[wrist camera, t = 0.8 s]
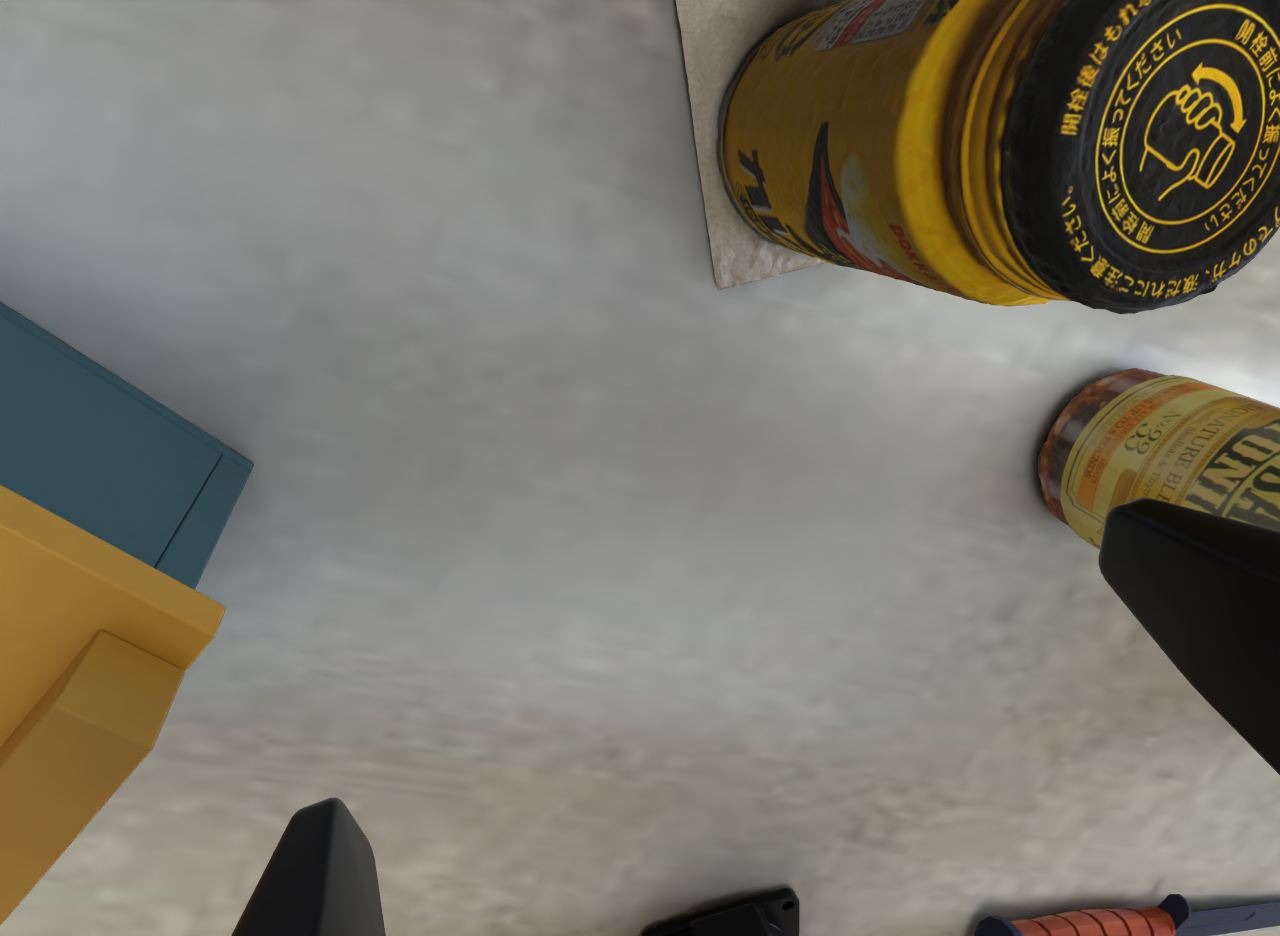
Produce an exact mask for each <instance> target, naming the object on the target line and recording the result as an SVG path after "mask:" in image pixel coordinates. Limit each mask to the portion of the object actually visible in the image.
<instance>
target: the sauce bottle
mask: <svg viewBox="0 0 1280 936" xmlns="http://www.w3.org/2000/svg"><path fill="white" fill-rule="evenodd" d="M1037 471H1038V474H1039V478H1040V480H1041V482H1042V491H1043V494H1044V497H1045V501H1046V504H1047V505H1048V507H1049V508H1050V510H1051V512H1052V513H1053V514H1054V515H1055V516H1057V517H1058V518H1059V519H1060V520H1061V521H1062V522H1064V523H1066V524H1067V525H1069V526H1070V527H1071V528H1072V529H1073V530H1074V531H1075V532H1076V534H1077V535H1079V536H1080V537H1081V538H1082V539H1084V540H1085V541H1087V542H1088V543H1090V544H1092V545H1093V546H1095V547H1096V548H1098V549H1099V550H1100V548H1101V542H1102V537H1103V531H1104V526H1105V520H1106V517H1107V514H1108V512H1109V511H1110V510H1111V509H1112V508H1114V507H1115V506H1118V505H1121V504H1123V503H1126V502H1129V501H1131V500H1134V499H1137V498H1144V497H1145V498H1152V499H1157V500H1160V501H1164V502H1168V503H1172V504H1176V505H1180V506H1183V507H1187V508H1191V509H1195V510H1199V511H1203V512H1207V513H1210V514H1214V515H1218V516H1222V517H1226V518H1230V519H1233V520H1237V521H1241V522H1245V523H1249V524H1253V525H1257V526H1260V527H1264V528H1268V529H1272V530H1276V531H1280V408H1278V407H1275V406H1272V405H1270V404H1267V403H1264V402H1261V401H1258V400H1255V399H1252V398H1249V397H1246V396H1243V395H1240V394H1237V393H1234V392H1231V391H1228V390H1225V389H1222V388H1219V387H1216V386H1213V385H1210V384H1207V383H1204V382H1201V381H1198V380H1195V379H1192V378H1188V377H1182V376H1175V375H1171V376H1168V375H1163V374H1159V373H1156V372H1151V371H1147V370H1146V371H1145V370H1140V369H1137V368H1135V369H1128V370H1124V371H1121V372H1118V373H1115V374H1112V375H1109V376H1106V377H1104V378H1102V379H1099V380H1097V381H1095V382H1094V383H1093V384H1091V385H1088V386H1086V387H1084V388H1083V389H1082V391H1081V392H1080V394H1079V395H1077V396H1074V397H1073V398H1072V399H1071V400H1070V401H1069V403H1068V405H1067V406H1066V407H1065V408H1064V409H1063V411H1062V412H1061V414H1060V415H1059V417H1058V419H1057V421H1056V422H1055V423H1054V425H1053V427H1052V428H1051V431H1050V433H1049V435H1048V440H1047V441H1046V443H1045V444H1044V445H1043V446H1042V449H1041V453H1040V455H1039V458H1038V470H1037Z"/></svg>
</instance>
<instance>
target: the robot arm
mask: <svg viewBox="0 0 1280 936" xmlns="http://www.w3.org/2000/svg"><path fill="white" fill-rule="evenodd" d="M1099 567H1100V570H1101V573H1102V575H1103V577H1104V579H1105V580H1106V581H1107V583H1108V584H1109V585H1110V587H1111V588H1112V589H1113V590H1114V591H1115V593H1116V594H1117V595H1118V596H1119V598H1120V599H1121V600H1122V601H1123V602H1124V604H1125V605H1126V606H1127V607H1128V609H1129V610H1130V611H1131V612H1132V613H1133V615H1134V616H1135V617H1136V618H1137V620H1138V621H1139V622H1140V623H1141V624H1142V626H1143V627H1144V628H1145V629H1146V631H1147V632H1148V633H1149V634H1150V636H1151V637H1152V638H1153V639H1154V640H1155V642H1156V643H1157V644H1158V645H1159V647H1160V648H1161V649H1162V650H1163V651H1164V653H1165V654H1166V655H1167V656H1168V658H1169V659H1170V660H1171V661H1172V662H1173V664H1174V665H1175V666H1176V667H1177V669H1178V670H1179V671H1180V672H1181V673H1182V674H1183V675H1184V677H1185V678H1186V679H1187V680H1188V681H1189V682H1190V684H1191V685H1192V686H1193V687H1194V688H1195V689H1196V690H1197V691H1198V692H1199V693H1200V694H1201V695H1202V696H1203V697H1204V699H1205V700H1206V701H1207V702H1208V703H1209V704H1210V705H1211V706H1212V707H1213V708H1214V709H1215V710H1216V711H1217V712H1218V713H1219V714H1220V715H1221V716H1222V717H1223V718H1224V719H1225V720H1226V721H1227V722H1228V723H1229V724H1230V725H1231V726H1232V727H1233V728H1234V729H1235V730H1236V731H1237V732H1238V733H1239V734H1240V735H1241V736H1242V737H1243V738H1244V739H1245V740H1246V741H1247V742H1248V743H1249V744H1250V745H1251V746H1252V747H1253V748H1254V749H1255V750H1256V751H1257V752H1258V753H1259V755H1260V756H1261V757H1262V758H1263V759H1264V760H1265V761H1266V762H1267V763H1268V764H1269V765H1270V766H1271V767H1272V768H1273V769H1274V770H1275V771H1276V772H1277V773H1278V774H1279V775H1280V531H1276V530H1272V529H1268V528H1264V527H1260V526H1257V525H1253V524H1249V523H1245V522H1241V521H1237V520H1233V519H1230V518H1226V517H1222V516H1218V515H1214V514H1210V513H1207V512H1203V511H1199V510H1195V509H1191V508H1187V507H1183V506H1180V505H1176V504H1172V503H1168V502H1164V501H1160V500H1157V499H1152V498H1145V497H1144V498H1137V499H1134V500H1131V501H1129V502H1126V503H1123V504H1121V505H1118V506H1115V507H1114V508H1112V509H1111V510H1110V511H1109V512H1108V514H1107V517H1106V520H1105V526H1104V531H1103V537H1102V542H1101V548H1100V553H1099ZM231 936H385V928H384V921H383V914H382V907H381V900H380V893H379V886H378V879H377V871H376V865H375V859H374V855H373V851H372V848H371V846H370V843H369V841H368V839H367V838H366V836H365V835H364V833H363V832H362V830H361V829H360V827H359V825H358V824H357V822H356V821H355V819H354V818H353V816H352V815H351V813H350V812H349V810H348V809H347V807H346V806H345V804H344V803H343V802H342V801H341V800H340V799H338V798H335V797H334V798H329V799H326V800H323V801H321V802H318V803H315V804H313V805H310V806H307V807H304V808H302V809H300V810H298V811H297V812H296V813H295V814H294V816H293V817H292V818H291V820H290V822H289V824H288V826H287V827H286V829H285V831H284V833H283V835H282V837H281V839H280V841H279V843H278V845H277V847H276V849H275V851H274V853H273V855H272V857H271V859H270V861H269V863H268V865H267V867H266V869H265V871H264V873H263V875H262V877H261V878H260V880H259V882H258V884H257V886H256V888H255V890H254V892H253V894H252V896H251V898H250V900H249V902H248V904H247V906H246V908H245V910H244V912H243V914H242V916H241V918H240V920H239V922H238V924H237V926H236V928H235V929H234V931H233V933H232V935H231ZM642 936H799V899H798V897H797V895H796V893H795V891H794V890H793V889H791V888H784V889H780V890H777V891H774V892H770V893H767V894H764V895H760V896H757V897H754V898H750V899H747V900H744V901H740V902H737V903H734V904H730V905H727V906H724V907H720V908H717V909H714V910H710V911H707V912H704V913H700V914H697V915H694V916H690V917H687V918H684V919H680V920H677V921H674V922H670V923H667V924H664V925H660V926H657V927H654V928H651V929H649V930H647V931H646V932H645V933H643V935H642Z"/></svg>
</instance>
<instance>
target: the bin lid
mask: <svg viewBox="0 0 1280 936" xmlns="http://www.w3.org/2000/svg"><path fill="white" fill-rule="evenodd" d="M224 611H225V606H223V605H221V604H219V603H218V602H216V601H214V600H212V599H210V598H208V597H206V596H205V595H203V594H201V593H199V592H197V591H195V590H194V589H192V588H190V587H188V586H186V585H184V584H183V583H181V582H179V581H177V580H175V579H173V578H171V577H170V576H168V575H166V574H164V573H162V572H160V571H159V570H157V569H155V568H153V567H151V566H149V565H147V564H146V563H144V562H142V561H140V560H138V559H136V558H135V557H133V556H131V555H129V554H127V553H125V552H123V551H122V550H120V549H118V548H116V547H114V546H112V545H111V544H109V543H107V542H105V541H103V540H101V539H99V538H98V537H96V536H94V535H92V534H90V533H88V532H87V531H85V530H83V529H81V528H79V527H77V526H75V525H74V524H72V523H70V522H68V521H66V520H64V519H63V518H61V517H59V516H57V515H55V514H53V513H52V512H50V511H48V510H46V509H44V508H42V507H40V506H39V505H37V504H35V503H33V502H31V501H29V500H28V499H26V498H24V497H22V496H20V495H18V494H16V493H15V492H13V491H11V490H9V489H7V488H5V487H4V486H2V485H0V925H1V924H2V923H3V922H4V921H5V920H6V918H7V917H8V916H9V915H10V914H11V913H12V911H13V910H14V909H15V908H16V907H17V906H18V905H19V903H20V902H21V901H22V900H23V899H24V898H25V896H26V895H27V894H28V893H29V892H30V891H31V889H32V888H33V887H34V886H35V885H36V884H37V882H38V881H39V880H40V879H41V878H42V877H43V876H44V874H45V873H46V872H47V871H48V870H49V869H50V867H51V866H52V865H53V864H54V863H55V862H56V860H57V859H58V858H59V857H60V856H61V855H62V853H63V852H64V851H65V850H66V849H67V848H68V846H69V845H70V844H71V843H72V842H73V841H74V840H75V838H76V837H77V836H78V835H79V834H80V833H81V831H82V830H83V829H84V828H85V827H86V826H87V824H88V823H89V822H90V821H91V820H92V819H93V817H94V816H95V815H96V814H97V813H98V812H99V811H100V809H101V808H102V807H103V806H104V805H105V804H106V802H107V801H108V800H109V799H110V798H111V797H112V795H113V794H114V793H115V792H116V791H117V790H118V788H119V787H120V786H121V785H122V784H123V783H124V781H125V780H126V779H127V778H128V777H129V776H130V775H131V773H132V772H133V771H134V770H135V769H136V768H137V766H138V765H139V764H140V763H141V762H142V761H143V759H144V758H145V757H146V756H147V755H148V754H149V752H150V751H151V750H152V749H153V747H154V745H155V742H156V740H157V738H158V735H159V733H160V730H161V728H162V726H163V723H164V721H165V719H166V716H167V714H168V711H169V709H170V707H171V704H172V702H173V700H174V697H175V695H176V692H177V690H178V688H179V685H180V683H181V681H182V678H183V676H184V673H185V671H186V670H187V669H188V667H189V666H190V665H191V664H192V663H193V662H194V660H195V659H196V658H197V657H198V656H199V655H200V653H201V652H202V651H203V650H204V649H205V648H206V646H207V645H208V644H209V643H210V642H211V641H212V639H213V638H214V637H215V634H216V632H217V629H218V627H219V624H220V622H221V619H222V617H223V614H224Z"/></svg>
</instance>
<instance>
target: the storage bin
mask: <svg viewBox="0 0 1280 936" xmlns="http://www.w3.org/2000/svg"><path fill="white" fill-rule="evenodd" d="M253 466H254V464H253V463H252V462H251V461H249V460H247V459H246V458H244V457H243V456H241V455H240V454H238V453H236V452H235V451H233V450H232V449H230V448H229V447H227V446H225V445H224V444H222V443H221V442H219V441H218V440H216V439H214V438H213V437H211V436H210V435H208V434H207V433H205V432H203V431H202V430H200V429H199V428H197V427H196V426H194V425H192V424H191V423H189V422H188V421H186V420H185V419H183V418H181V417H180V416H178V415H177V414H175V413H174V412H172V411H170V410H169V409H167V408H166V407H164V406H162V405H161V404H159V403H158V402H156V401H155V400H153V399H151V398H150V397H148V396H147V395H145V394H144V393H142V392H140V391H139V390H137V389H136V388H134V387H133V386H131V385H129V384H128V383H126V382H125V381H123V380H122V379H120V378H118V377H117V376H115V375H114V374H112V373H111V372H109V371H107V370H106V369H104V368H103V367H101V366H100V365H98V364H96V363H95V362H93V361H92V360H90V359H89V358H87V357H85V356H84V355H82V354H81V353H79V352H78V351H76V350H74V349H73V348H71V347H70V346H68V345H67V344H65V343H63V342H62V341H60V340H59V339H57V338H55V337H54V336H52V335H51V334H49V333H48V332H46V331H44V330H43V329H41V328H40V327H38V326H37V325H35V324H33V323H32V322H30V321H29V320H27V319H26V318H24V317H22V316H21V315H19V314H18V313H16V312H15V311H13V310H11V309H10V308H8V307H7V306H5V305H4V304H2V303H0V485H2V486H4V487H5V488H7V489H9V490H11V491H13V492H15V493H16V494H18V495H20V496H22V497H24V498H26V499H28V500H29V501H31V502H33V503H35V504H37V505H39V506H40V507H42V508H44V509H46V510H48V511H50V512H52V513H53V514H55V515H57V516H59V517H61V518H63V519H64V520H66V521H68V522H70V523H72V524H74V525H75V526H77V527H79V528H81V529H83V530H85V531H87V532H88V533H90V534H92V535H94V536H96V537H98V538H99V539H101V540H103V541H105V542H107V543H109V544H111V545H112V546H114V547H116V548H118V549H120V550H122V551H123V552H125V553H127V554H129V555H131V556H133V557H135V558H136V559H138V560H140V561H142V562H144V563H146V564H147V565H149V566H151V567H153V568H155V569H157V570H159V571H160V572H162V573H164V574H166V575H168V576H170V577H171V578H173V579H175V580H177V581H179V582H181V583H183V584H184V585H186V586H188V587H190V588H192V589H194V590H195V587H196V585H197V583H198V581H199V579H200V577H201V575H202V573H203V571H204V569H205V567H206V564H207V562H208V560H209V558H210V556H211V554H212V552H213V550H214V548H215V546H216V544H217V541H218V539H219V537H220V535H221V533H222V531H223V529H224V527H225V525H226V523H227V520H228V518H229V516H230V514H231V512H232V510H233V508H234V506H235V504H236V502H237V500H238V497H239V495H240V493H241V491H242V489H243V487H244V485H245V483H246V481H247V479H248V477H249V474H250V472H251V470H252V468H253Z"/></svg>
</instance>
